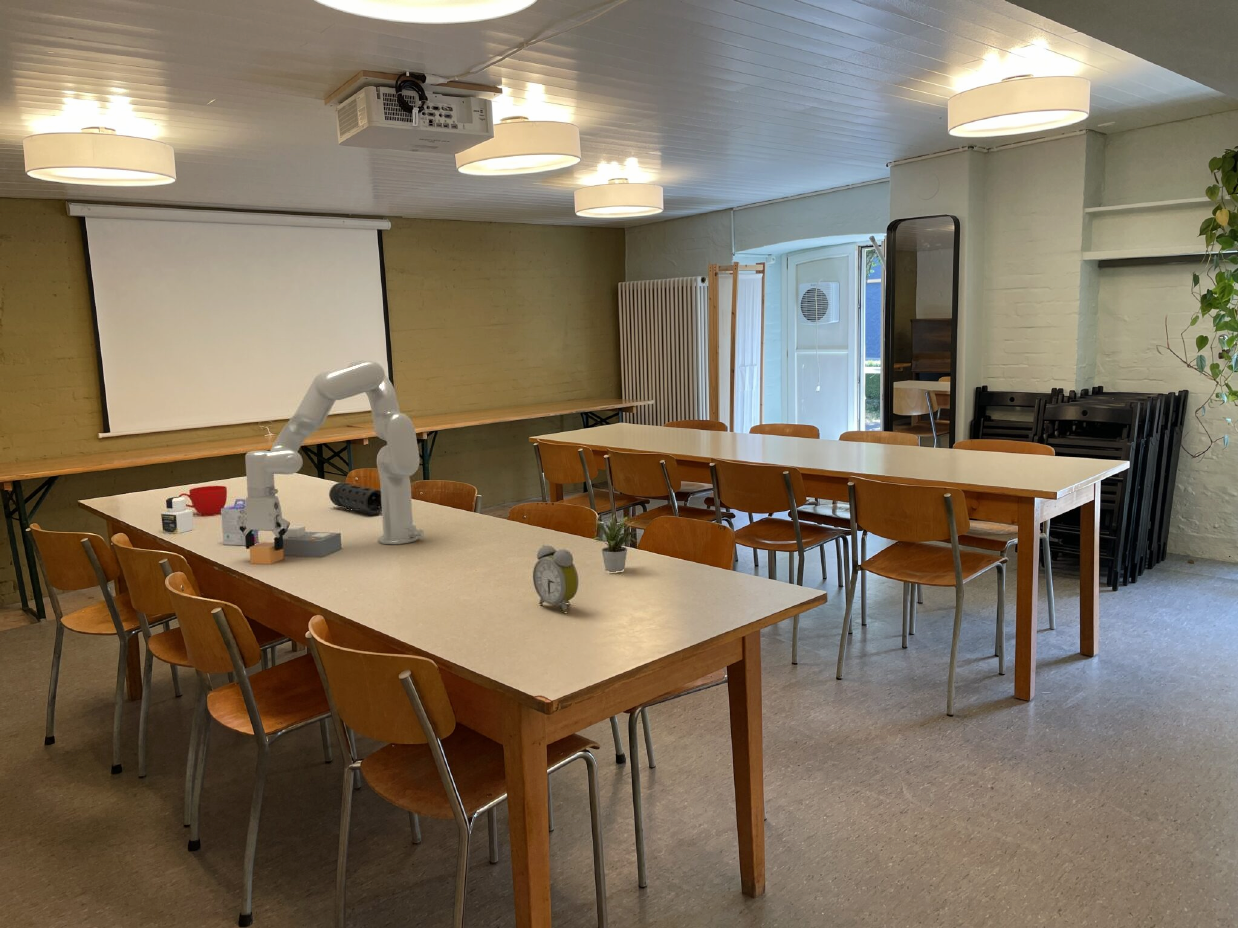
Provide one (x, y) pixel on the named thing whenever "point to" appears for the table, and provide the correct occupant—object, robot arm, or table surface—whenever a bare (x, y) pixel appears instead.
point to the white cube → (295, 531)
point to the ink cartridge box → (234, 524)
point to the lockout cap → (265, 553)
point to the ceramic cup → (207, 499)
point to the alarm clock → (555, 576)
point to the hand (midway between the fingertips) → (264, 548)
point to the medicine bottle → (177, 516)
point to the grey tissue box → (311, 545)
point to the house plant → (614, 545)
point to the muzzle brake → (356, 498)
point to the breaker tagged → (321, 535)
